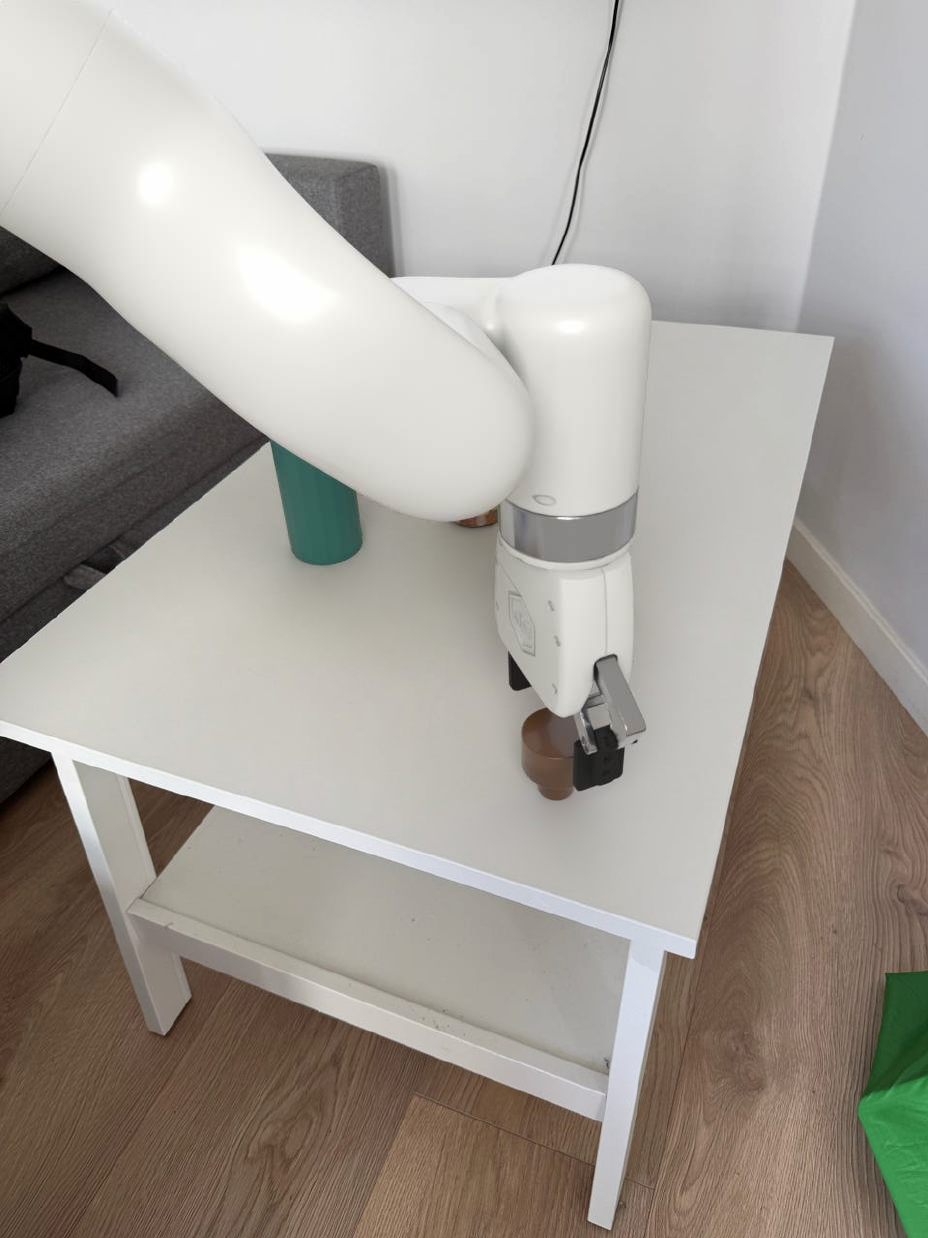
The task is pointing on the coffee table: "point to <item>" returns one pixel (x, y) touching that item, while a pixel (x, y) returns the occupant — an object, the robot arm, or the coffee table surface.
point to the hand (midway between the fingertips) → (562, 729)
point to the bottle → (316, 510)
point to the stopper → (549, 752)
